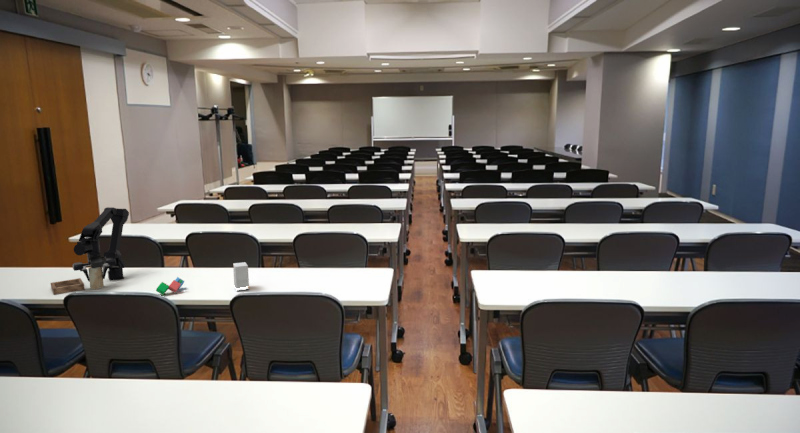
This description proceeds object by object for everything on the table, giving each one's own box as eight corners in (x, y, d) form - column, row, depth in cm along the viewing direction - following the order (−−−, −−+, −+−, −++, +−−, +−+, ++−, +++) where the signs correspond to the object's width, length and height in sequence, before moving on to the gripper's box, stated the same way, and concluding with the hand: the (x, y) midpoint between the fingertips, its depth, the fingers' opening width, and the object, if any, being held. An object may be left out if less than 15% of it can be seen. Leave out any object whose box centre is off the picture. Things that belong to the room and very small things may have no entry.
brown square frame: (80, 283, 263) (80, 278, 263) (84, 289, 253) (84, 283, 253) (51, 288, 255) (50, 282, 254) (53, 294, 245) (53, 288, 245)
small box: (249, 290, 253) (248, 265, 250) (236, 292, 250) (235, 267, 248) (246, 285, 260) (245, 261, 258) (234, 287, 257) (232, 263, 255)
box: (98, 289, 254) (96, 268, 252) (89, 289, 254) (87, 268, 252) (104, 286, 259) (102, 265, 257) (96, 286, 259) (94, 265, 257)
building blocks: (169, 301, 249) (183, 283, 257) (171, 296, 243) (186, 277, 251) (155, 293, 248) (170, 275, 255) (156, 287, 242) (172, 269, 249)
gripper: (73, 256, 241) (77, 287, 244) (117, 250, 253) (120, 280, 256) (70, 252, 250) (74, 282, 252) (112, 247, 261) (115, 275, 264)
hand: (96, 280), depth 256 cm, fingers closed on box, 6 cm apart
